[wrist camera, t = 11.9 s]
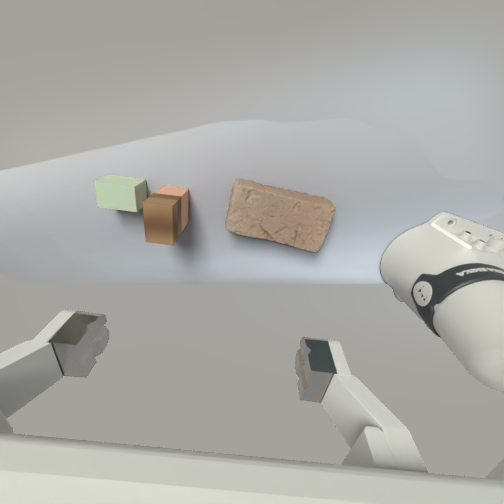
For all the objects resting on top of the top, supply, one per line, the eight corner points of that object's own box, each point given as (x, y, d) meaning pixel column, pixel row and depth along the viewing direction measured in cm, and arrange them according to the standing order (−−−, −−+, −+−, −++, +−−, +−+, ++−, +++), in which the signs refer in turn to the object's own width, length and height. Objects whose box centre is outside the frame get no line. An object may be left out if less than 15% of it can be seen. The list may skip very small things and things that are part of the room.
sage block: (146, 179, 42) (134, 186, 38) (147, 202, 44) (136, 212, 40) (109, 174, 42) (93, 181, 38) (112, 198, 44) (97, 207, 40)
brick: (225, 222, 45) (222, 233, 41) (234, 175, 41) (232, 183, 37) (314, 241, 47) (320, 254, 43) (331, 198, 43) (339, 207, 39)
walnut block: (154, 192, 38) (142, 202, 34) (181, 196, 38) (172, 206, 34) (156, 229, 41) (145, 241, 37) (181, 232, 41) (173, 245, 37)
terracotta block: (164, 185, 42) (154, 193, 38) (188, 188, 42) (181, 196, 38) (165, 218, 45) (156, 229, 41) (188, 221, 45) (181, 232, 41)
